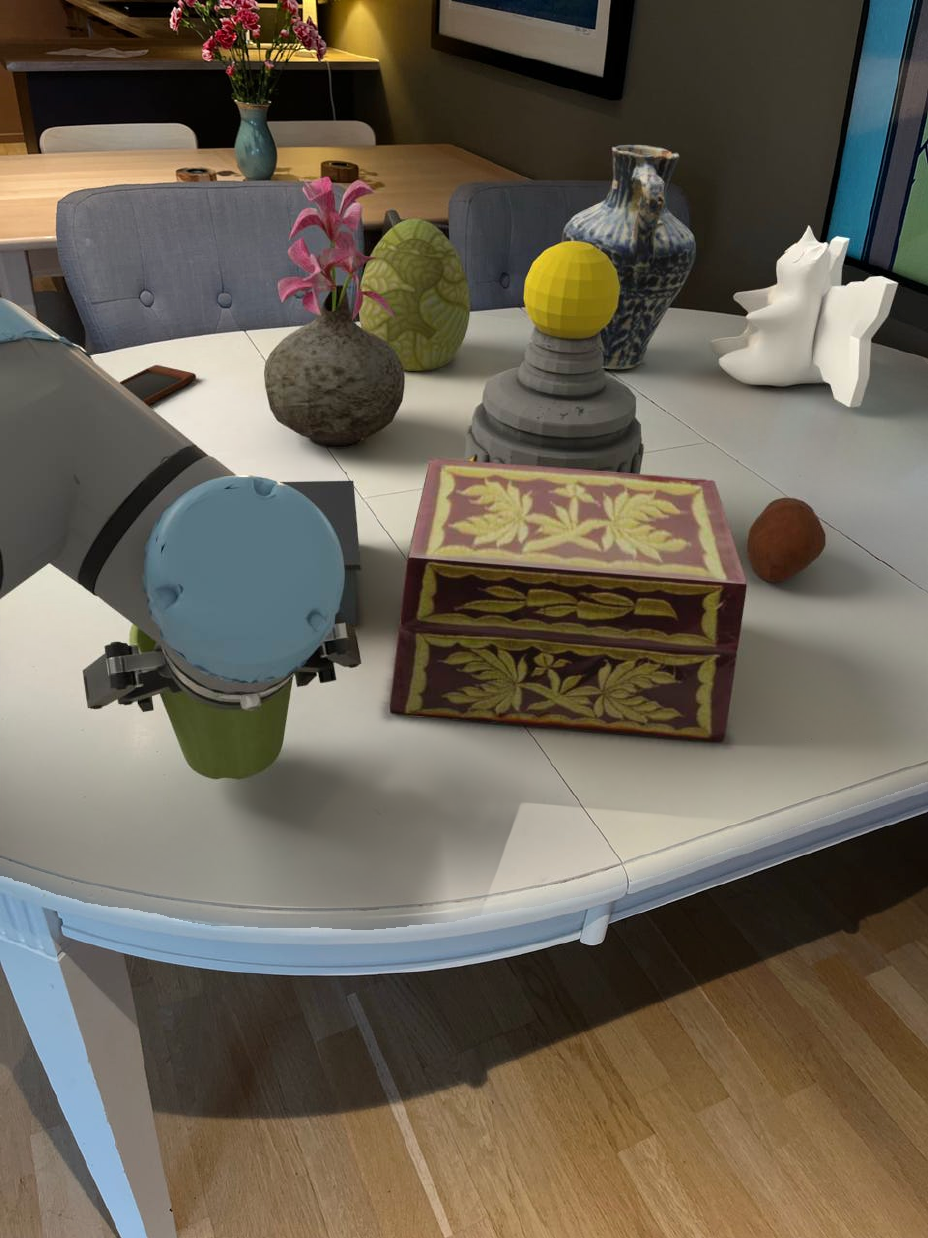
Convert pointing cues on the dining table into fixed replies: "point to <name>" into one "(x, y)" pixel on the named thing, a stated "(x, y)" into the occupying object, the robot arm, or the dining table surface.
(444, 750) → the dining table surface
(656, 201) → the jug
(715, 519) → the decorative box
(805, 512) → the potato
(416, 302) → the decorative sculpture
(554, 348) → the decorative lamp
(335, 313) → the vase
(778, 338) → the cat figurine
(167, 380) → the smartphone
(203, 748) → the plant pot
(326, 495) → the container
